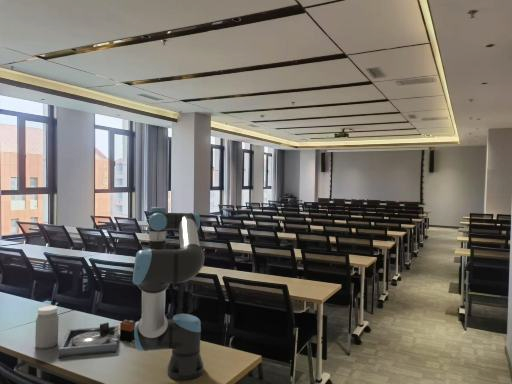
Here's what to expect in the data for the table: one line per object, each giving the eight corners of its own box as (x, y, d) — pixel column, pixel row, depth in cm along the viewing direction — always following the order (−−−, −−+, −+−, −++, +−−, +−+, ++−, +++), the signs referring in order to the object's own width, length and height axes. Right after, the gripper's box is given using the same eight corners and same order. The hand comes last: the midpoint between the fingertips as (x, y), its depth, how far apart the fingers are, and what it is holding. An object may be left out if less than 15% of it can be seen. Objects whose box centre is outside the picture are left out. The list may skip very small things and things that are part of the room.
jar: (47, 340, 187) (48, 303, 187) (62, 343, 184) (63, 306, 184) (29, 347, 178) (31, 309, 178) (46, 351, 175) (47, 312, 175)
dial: (80, 352, 171) (80, 336, 171) (65, 341, 183) (66, 326, 183) (115, 342, 184) (116, 327, 184) (100, 332, 195) (100, 318, 195)
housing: (117, 352, 176) (118, 343, 176) (58, 358, 168) (58, 348, 168) (119, 333, 199) (120, 325, 199) (67, 337, 191) (68, 329, 191)
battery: (130, 342, 187) (130, 322, 187) (119, 340, 190) (119, 320, 190) (136, 339, 191) (136, 320, 191) (125, 337, 194) (125, 318, 194)
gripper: (166, 241, 172) (165, 293, 172) (164, 238, 184) (163, 286, 184) (149, 241, 169) (147, 294, 170) (148, 238, 182) (147, 287, 182)
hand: (155, 290), depth 177 cm, fingers closed
